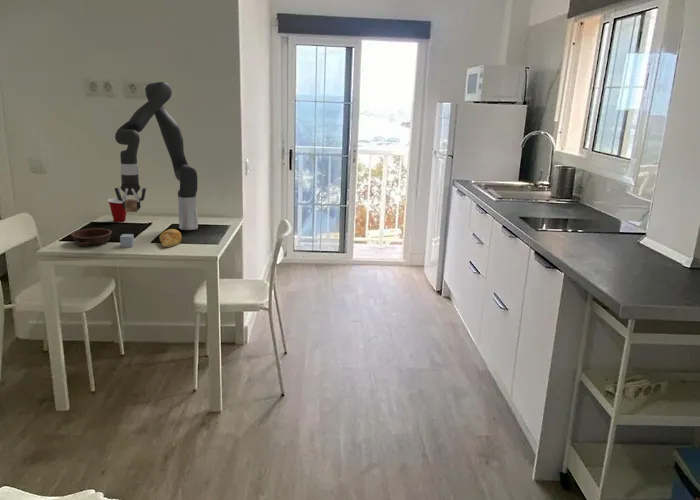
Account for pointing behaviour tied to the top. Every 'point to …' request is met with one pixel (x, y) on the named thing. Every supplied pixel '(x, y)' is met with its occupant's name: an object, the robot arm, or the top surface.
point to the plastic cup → (117, 210)
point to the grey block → (127, 240)
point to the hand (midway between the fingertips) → (131, 209)
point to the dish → (91, 236)
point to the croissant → (170, 237)
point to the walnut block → (131, 205)
